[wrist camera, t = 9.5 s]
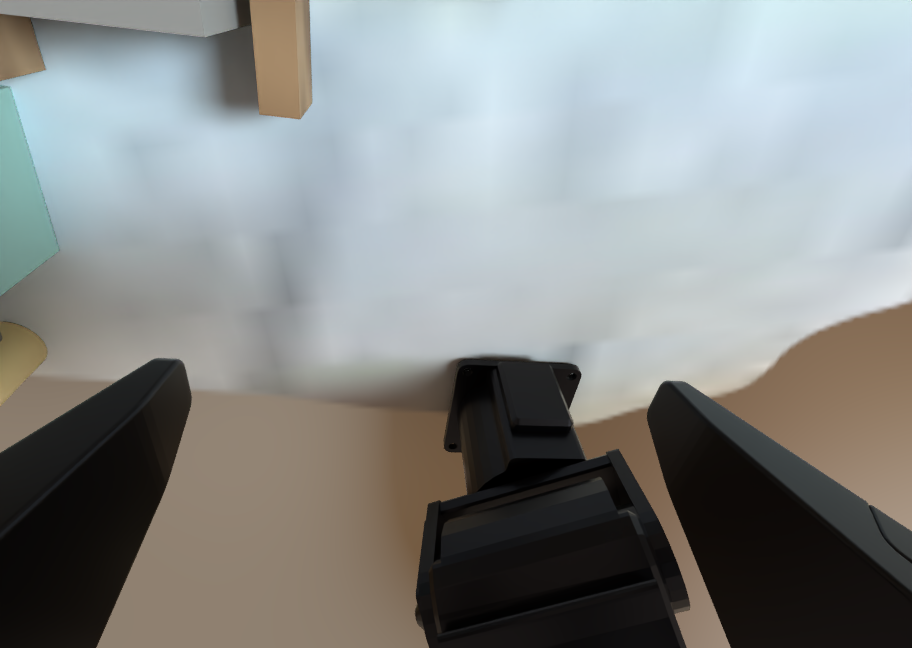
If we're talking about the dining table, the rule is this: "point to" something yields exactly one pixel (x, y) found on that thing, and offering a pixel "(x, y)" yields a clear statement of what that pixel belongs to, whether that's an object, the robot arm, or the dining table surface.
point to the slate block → (141, 14)
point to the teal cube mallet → (19, 242)
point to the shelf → (274, 39)
